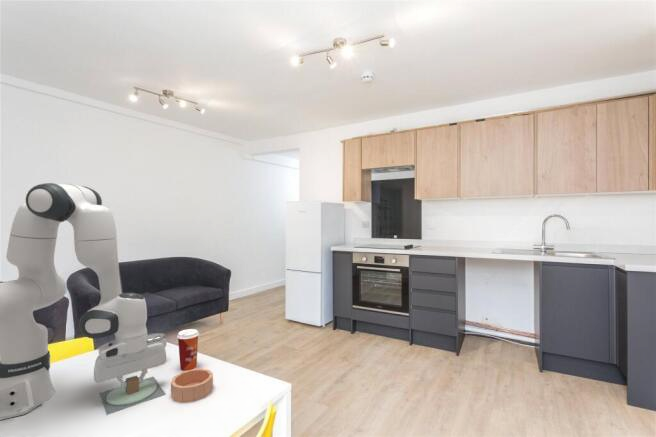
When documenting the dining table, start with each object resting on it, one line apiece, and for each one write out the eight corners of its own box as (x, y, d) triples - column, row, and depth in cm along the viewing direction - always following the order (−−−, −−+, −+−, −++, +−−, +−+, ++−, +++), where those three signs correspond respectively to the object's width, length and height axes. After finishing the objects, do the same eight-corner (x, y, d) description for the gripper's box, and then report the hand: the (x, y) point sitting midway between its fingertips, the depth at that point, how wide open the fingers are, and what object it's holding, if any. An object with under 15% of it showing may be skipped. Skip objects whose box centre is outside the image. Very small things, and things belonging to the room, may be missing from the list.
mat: (106, 416, 94) (106, 414, 94) (99, 394, 106) (99, 392, 106) (166, 395, 104) (166, 394, 104) (153, 377, 116) (153, 376, 116)
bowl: (178, 408, 97) (178, 392, 97) (166, 392, 106) (166, 377, 106) (218, 393, 105) (218, 378, 105) (204, 379, 115) (204, 365, 115)
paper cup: (191, 374, 119) (190, 336, 119) (173, 372, 120) (172, 334, 120) (203, 364, 126) (203, 328, 126) (186, 362, 128) (185, 327, 128)
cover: (110, 411, 95) (110, 395, 95) (103, 392, 105) (103, 378, 105) (161, 394, 104) (161, 379, 104) (150, 378, 115) (150, 364, 115)
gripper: (163, 332, 114) (164, 371, 114) (92, 348, 101) (93, 393, 101) (168, 337, 109) (169, 378, 109) (95, 355, 96) (95, 401, 96)
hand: (132, 385), depth 105 cm, fingers closed on cover, 3 cm apart
